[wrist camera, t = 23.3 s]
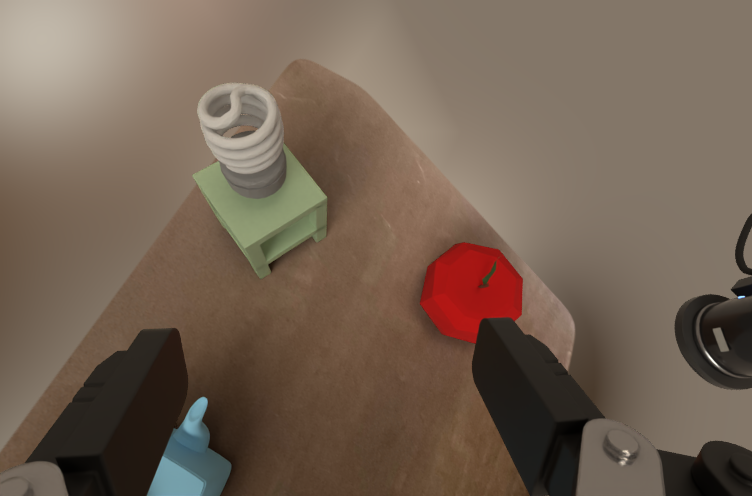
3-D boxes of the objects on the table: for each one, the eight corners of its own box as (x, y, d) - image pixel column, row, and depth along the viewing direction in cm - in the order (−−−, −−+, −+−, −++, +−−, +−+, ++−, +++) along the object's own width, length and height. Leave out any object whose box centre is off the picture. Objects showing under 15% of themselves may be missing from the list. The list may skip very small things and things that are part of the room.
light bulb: (258, 227, 35) (229, 149, 24) (217, 187, 36) (170, 94, 25) (304, 189, 37) (296, 101, 26) (264, 152, 38) (240, 51, 27)
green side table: (283, 181, 48) (274, 131, 39) (326, 236, 47) (327, 197, 37) (218, 219, 46) (191, 174, 36) (260, 279, 44) (244, 248, 35)
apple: (476, 367, 43) (518, 360, 34) (395, 315, 44) (415, 293, 35) (514, 290, 47) (561, 264, 38) (439, 243, 48) (467, 207, 39)
